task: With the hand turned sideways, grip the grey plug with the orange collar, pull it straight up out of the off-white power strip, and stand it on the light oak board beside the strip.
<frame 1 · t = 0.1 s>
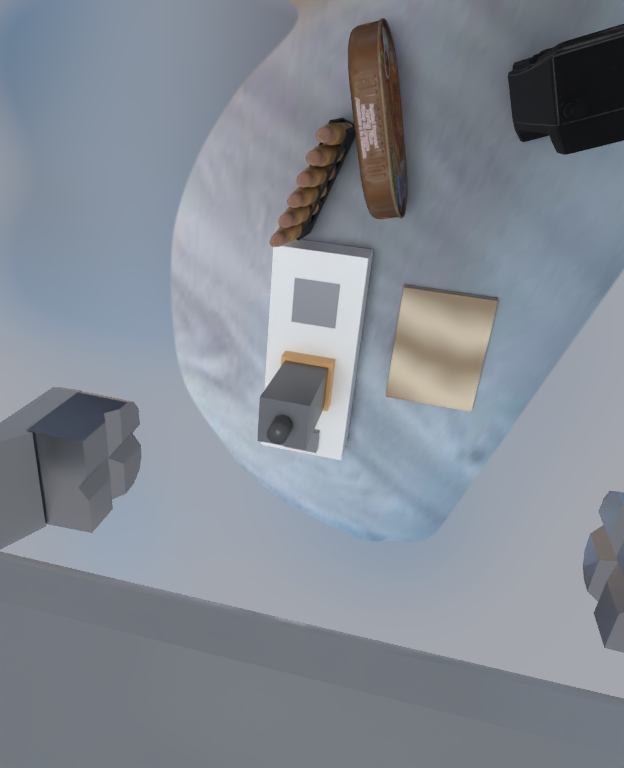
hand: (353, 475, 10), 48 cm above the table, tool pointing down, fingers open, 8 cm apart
plug: (314, 366, 61), point 1 cm above the table, touching power strip
tin: (385, 126, 52), on the table
oak board: (438, 348, 59), on the table
power strip: (317, 346, 61), on the table
portable radio: (559, 90, 48), on the table
ammunition clip: (325, 178, 54), on the table
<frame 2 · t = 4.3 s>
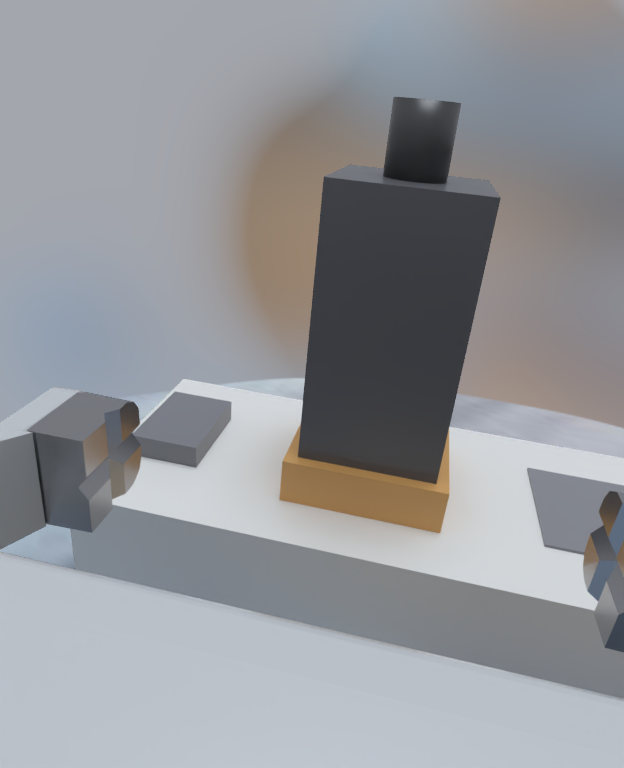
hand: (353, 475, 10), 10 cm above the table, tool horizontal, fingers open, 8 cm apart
plug: (357, 536, 22), point 1 cm above the table, touching power strip
power strip: (405, 568, 22), on the table
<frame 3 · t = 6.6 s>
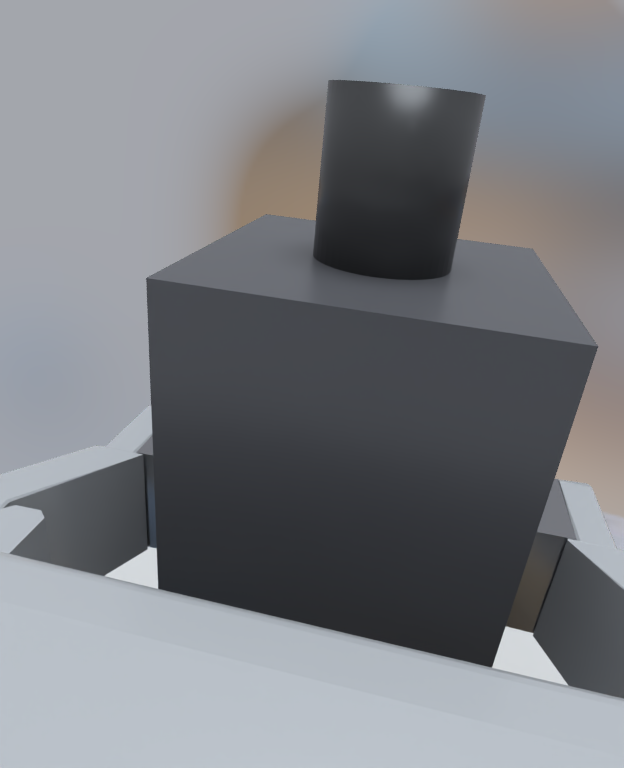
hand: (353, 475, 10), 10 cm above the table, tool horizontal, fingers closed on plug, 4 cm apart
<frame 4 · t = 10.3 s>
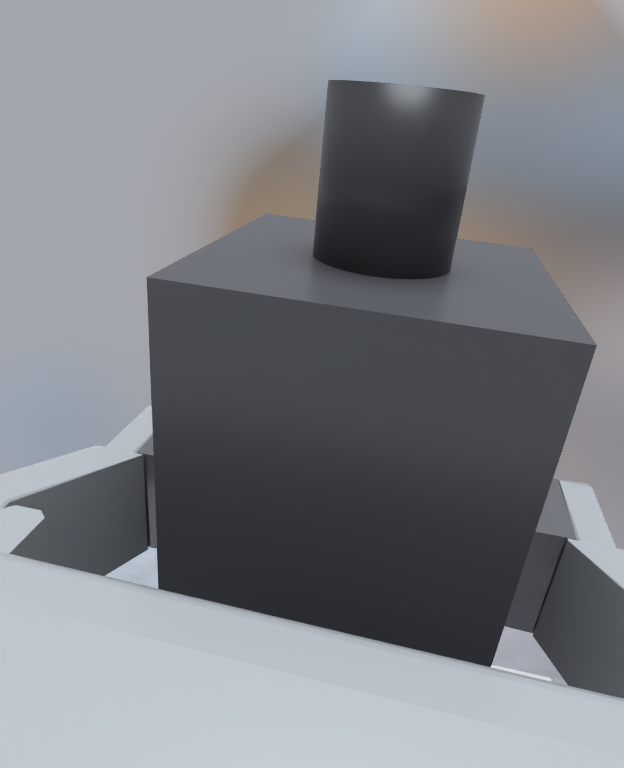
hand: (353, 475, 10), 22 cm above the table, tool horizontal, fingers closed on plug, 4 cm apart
when the fingers open (11 cm above the table, at t = 14.0 s): plug drops 1 cm, resting on oak board.
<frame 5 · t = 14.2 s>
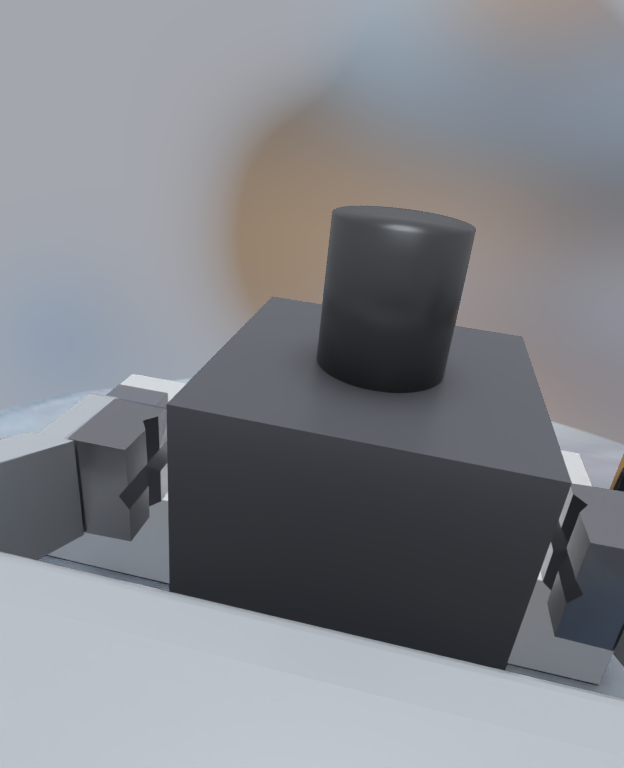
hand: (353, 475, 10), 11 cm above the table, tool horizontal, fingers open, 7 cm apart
power strip: (316, 535, 26), on the table
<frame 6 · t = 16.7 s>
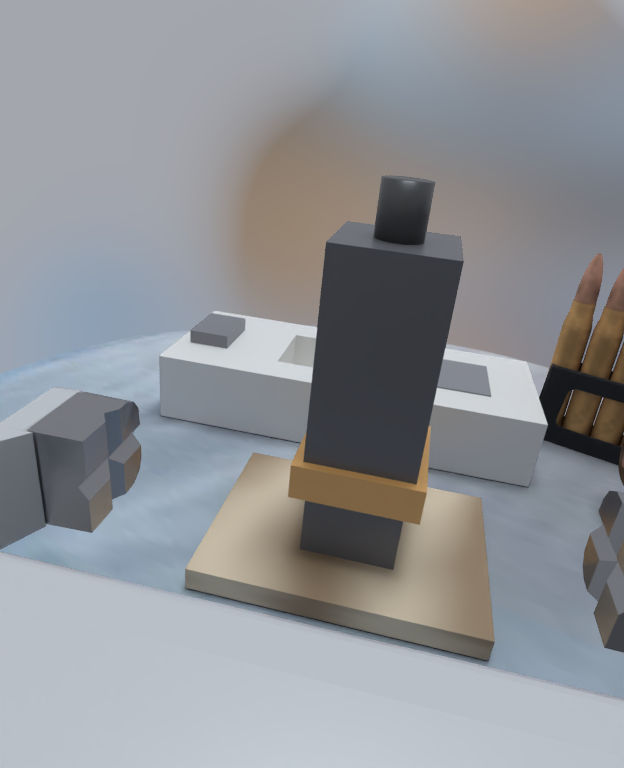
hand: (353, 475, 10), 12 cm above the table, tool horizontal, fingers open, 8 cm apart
plug: (352, 529, 26), point 1 cm above the table, touching oak board
oak board: (348, 546, 26), on the table
power strip: (347, 414, 38), on the table
ammunition clip: (614, 460, 36), on the table
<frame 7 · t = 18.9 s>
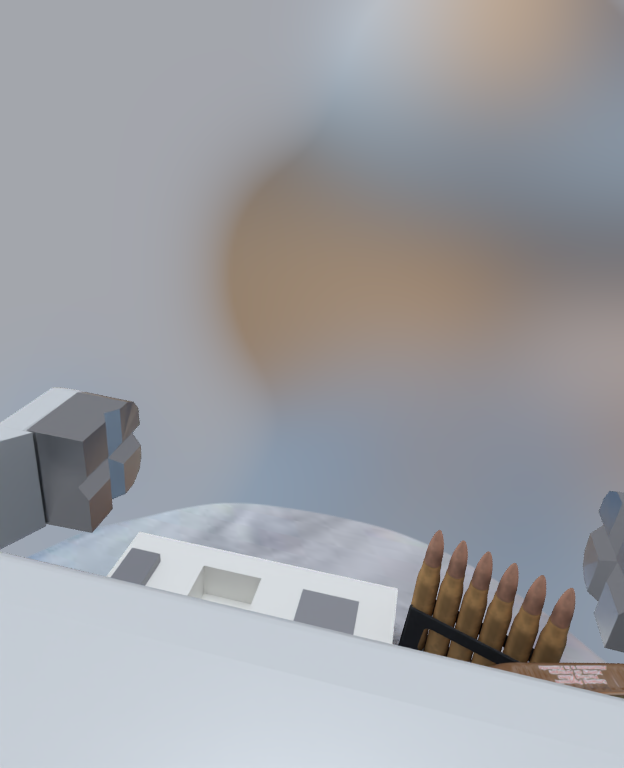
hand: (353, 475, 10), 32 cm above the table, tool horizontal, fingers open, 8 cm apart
tin: (544, 766, 38), on the table
power strip: (245, 637, 45), on the table
ammunition clip: (465, 681, 43), on the table
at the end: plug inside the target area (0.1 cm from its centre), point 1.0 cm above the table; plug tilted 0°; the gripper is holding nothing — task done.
